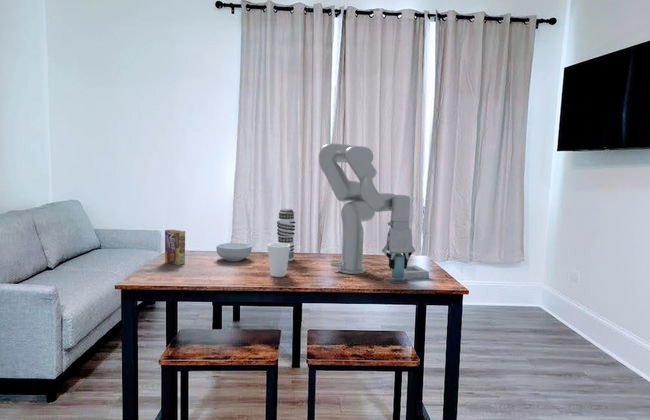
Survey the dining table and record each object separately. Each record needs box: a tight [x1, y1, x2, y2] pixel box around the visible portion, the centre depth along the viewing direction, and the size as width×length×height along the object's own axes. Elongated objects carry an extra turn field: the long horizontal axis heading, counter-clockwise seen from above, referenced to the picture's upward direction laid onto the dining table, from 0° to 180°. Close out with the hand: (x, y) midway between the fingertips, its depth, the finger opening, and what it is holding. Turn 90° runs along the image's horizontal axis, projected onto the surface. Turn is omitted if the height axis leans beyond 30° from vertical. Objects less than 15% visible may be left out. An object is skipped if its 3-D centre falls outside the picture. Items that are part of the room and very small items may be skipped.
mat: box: [385, 277, 409, 285], centre depth 183 cm, size 7×7×1 cm
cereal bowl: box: [215, 242, 252, 262], centre depth 212 cm, size 17×17×7 cm
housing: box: [391, 265, 430, 281], centre depth 193 cm, size 12×12×3 cm
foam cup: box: [267, 242, 290, 278], centre depth 186 cm, size 10×9×13 cm
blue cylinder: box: [391, 253, 405, 279], centre depth 182 cm, size 5×5×10 cm
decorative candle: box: [276, 208, 296, 262], centre depth 216 cm, size 9×9×25 cm
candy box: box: [164, 228, 186, 266], centre depth 200 cm, size 9×4×15 cm, turn 63°
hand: (397, 267), depth 182 cm, fingers closed on blue cylinder, 5 cm apart
